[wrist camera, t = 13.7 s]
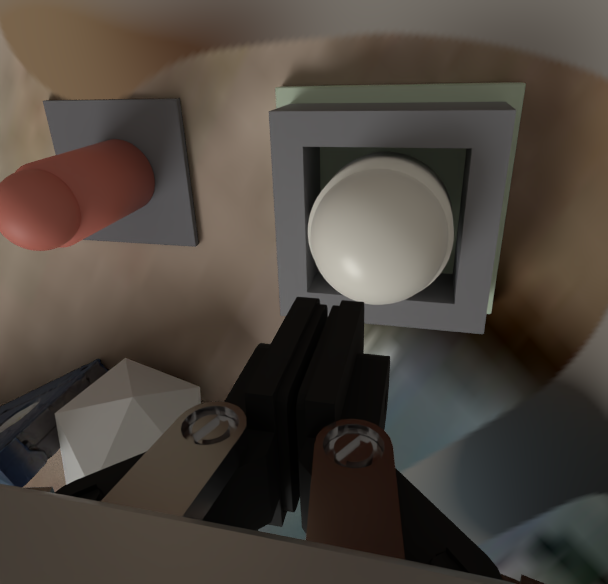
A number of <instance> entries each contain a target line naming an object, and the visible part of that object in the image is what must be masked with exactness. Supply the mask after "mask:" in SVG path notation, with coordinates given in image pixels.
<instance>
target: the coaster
mask: <svg viewBox="0 0 608 584" xmlns="http://www.w3.org/2000/svg"><path fill="white" fill-rule="evenodd" d="M43 104H44V108H45V112H46V116H47V120H48V124H49V129H50V133H51V137H52V141H53V145H54V149H55V153H56V155H59V154H62V153H65V152H69V151H72V150H76V149H79V148H83V147H86V146H90V145H93V144H96V143H100V142H103V141H107V140H111V139H119V140H124V141H127V142H129V143H131V144H133V145H134V146H135V147H137V148H138V149H139V150H140V151H141V152H142V153H143V154H144V155H145V157H146V158H147V159H148V161H149V163H150V165H151V167H152V170H153V173H154V179H155V188H154V193H153V196H152V198H151V199H150V201H149V202H148V203H147V204H146V205H145V206H144V207H142V208H140V209H138V210H136V211H135V212H133V213H131V214H129V215H127V216H125V217H123V218H122V219H120V220H118V221H116V222H114V223H112V224H111V225H109V226H107V227H105V228H103V229H101V230H99V231H98V232H96V233H94V234H92V235H90V236H88V237H87V238H85V239H83V240H97V241H113V242H130V243H146V244H163V245H179V246H195V247H196V246H197V245H198V244H199V243H198V236H197V228H196V220H195V213H194V205H193V197H192V189H191V182H190V174H189V166H188V159H187V151H186V143H185V136H184V128H183V120H182V112H181V105H180V99H109V100H46V101H43Z"/></svg>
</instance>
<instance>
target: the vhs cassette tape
mask: <svg viewBox="0 0 608 584" xmlns="http://www.w3.org/2000/svg"><path fill="white" fill-rule="evenodd" d="M107 372H108V370H107V369H106V368H105V367H104V366H103V364H101V363H100V359H96V360H94V361H93V362H91V363H89V364H87V365H84V366H82V367H81V368H78V369H76V370H74V371H72V372H70V373H68V374H66V375H64V376H62V377H60V378H58V379H56V380H53V381H51V382H49V383H47V384H45V385H43V386H41V387H39V388H37V389H35V390H33V391H31V392H29V393H27V394H25V395H23V396H21V397H19V398H17V399H15V400H13V401H11V402H9V403H7V404H5V405H3V406H1V407H0V484H5V485H11V486H16V487H23V486H24V485H26V484H27V483H28V482H29V481H30V480H31V479H32V478H33V477H34V476H35V475H36V474H37V473H38V471H39V470H40V469H41V468H42V467H43V466H44V465H45V464H46V462H47V459H49V458H50V457H52V456H53V455H54V454H55V453H56V452H57V451H58V450H59V449H60V443H59V437H58V431H57V425H56V419H55V413H56V412H57V411H58V410H60V409H61V408H62V407H63V406H65V405H66V404H67V403H69V402H70V401H71V400H72V399H74V398H75V397H76V396H77V395H79V394H80V393H81V392H82V391H84V390H85V389H86V388H88V387H89V386H90V385H91V384H93V383H94V382H95V381H96V380H98V379H99V378H100V377H101V376H103V375H104V374H105V373H107Z"/></svg>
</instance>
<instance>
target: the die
mask: <svg viewBox="0 0 608 584" xmlns="http://www.w3.org/2000/svg"><path fill="white" fill-rule="evenodd" d="M198 404H201V394H200V387H199V386H197V385H194V384H191V383H189V382H186V381H184V380H181V379H179V378H176V377H173V376H171V375H168V374H166V373H163V372H161V371H158V370H155V369H153V368H150V367H148V366H145V365H142V364H140V363H137V362H135V361H132V360H130V359H127V358H124V359H123V360H122V361H120V362H119V363H118V364H117V365H115V366H114V367H113V368H112V369H110V370H109V371H108V372H107V373H105V374H104V375H103V376H101V377H100V378H99V379H98V380H96V381H95V382H94V383H93V384H91V385H90V386H89V387H88V388H86V389H85V390H84V391H82V392H81V393H80V394H79V395H77V396H76V397H75V398H74V399H72V400H71V401H70V402H69V403H67V404H66V405H65V406H63V407H62V408H61V409H60V410H58V411H57V412H56V413H55V419H56V425H57V431H58V437H59V443H60V449H61V455H62V461H63V467H64V473H65V479H66V485H67V484H69V483H71V482H73V481H75V480H77V479H80V478H82V477H85V476H87V475H90V474H92V473H94V472H97V471H99V470H102V469H104V468H107V467H109V466H112V465H114V464H117V463H119V462H122V461H124V460H127V459H129V458H132V457H134V456H136V455H139V454H141V453H144V452H146V451H148V450H149V449H150V447H151V446H152V445H153V444H154V443H155V442H156V441H157V440H158V439H159V438H160V437H161V436H162V434H163V433H164V432H165V431H166V430H167V429H168V428H169V427H170V426H171V425H172V424H173V423H174V421H175V420H176V419H177V418H178V417H179V416H180V415H181V414H183V413H184V412H185V411H186V410H188V409H190V408H192V407H194V406H196V405H198Z"/></svg>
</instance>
